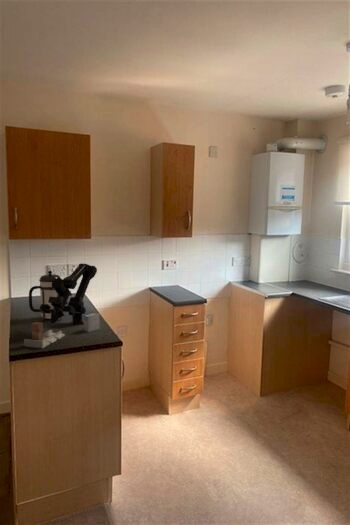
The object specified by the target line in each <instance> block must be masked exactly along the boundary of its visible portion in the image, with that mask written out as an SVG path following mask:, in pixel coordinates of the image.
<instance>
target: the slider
mask: <svg viewBox="0 0 350 525" xmlns="http://www.w3.org/2000/svg"><path fill="white" fill-rule="evenodd" d="M43 326H44V325H43V322H40V321H39V322H38V321H34V322H33V323H31V340H40V341H42V340H43V333H44V331H43Z"/></svg>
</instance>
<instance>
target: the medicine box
mask: <svg viewBox="0 0 350 525" xmlns="http://www.w3.org/2000/svg"><path fill="white" fill-rule="evenodd" d="M100 316H101V314H99V313H96V312H94V313H90V314H86V315H85V314H84V315H83V322H84V324H83V331H84V332H87V333H90V332H93V331H97V330H100V329H101V324H100V323H101V321H100V320H101V318H100Z"/></svg>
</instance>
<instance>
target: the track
mask: <svg viewBox="0 0 350 525" xmlns="http://www.w3.org/2000/svg"><path fill="white" fill-rule="evenodd" d="M63 337H65V333H63V331H62V330H59V331H57V332H53V329H49V330H47V331H45V332H43V340H42V341H40V340H31V339H32V338H31V339H30V338H24V339H23V346H24V347H27V348H37V349H44V348H45V347H47V346H49V345H50V344H52V343H54V342H56V341H57V340H60V339H61V338H63Z"/></svg>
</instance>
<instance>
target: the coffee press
mask: <svg viewBox="0 0 350 525" xmlns="http://www.w3.org/2000/svg"><path fill="white" fill-rule="evenodd" d="M58 278H61V276H60V275H58V274H53V271H52V270H49V271H48V272H47V274H44V275H41V276H40V277H39V280H38V281H39V285H33V286H32V287H31V288H30V289H29V292H28V306H29V309H30V310H31V311H32V312H34V313H40V315H41V322H42V323H43V322H46V321H47V320H49V319H50V320H51V313H44V312H43V311H42V310H41V309H40V308H38V309H37V308H34V307H33V291H34V290H37V289H39V292H40V293H39V294H40V305H41V304H48V305H49V306H52V305H51V304H52V303H48V301H49V297H58V293H57V292H56V291H55V290H54V289H53V287H52V282H54V281H55V280H57V279H58ZM52 307H53V306H52ZM62 318H63V317H61V318H59V319H58V320H57V321H61V320H62Z"/></svg>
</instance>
